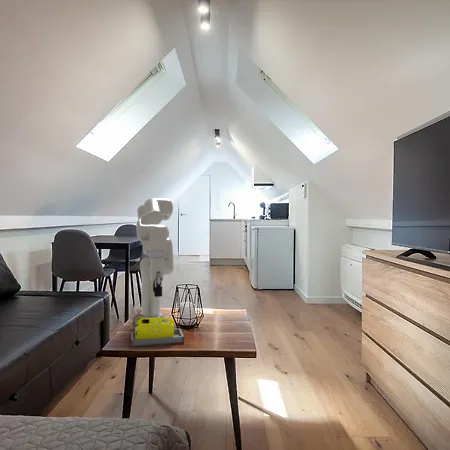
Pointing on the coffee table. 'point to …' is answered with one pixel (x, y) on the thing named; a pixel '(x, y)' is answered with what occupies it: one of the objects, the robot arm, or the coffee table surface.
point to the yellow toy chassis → (154, 328)
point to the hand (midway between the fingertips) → (157, 293)
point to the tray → (158, 339)
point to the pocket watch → (137, 318)
